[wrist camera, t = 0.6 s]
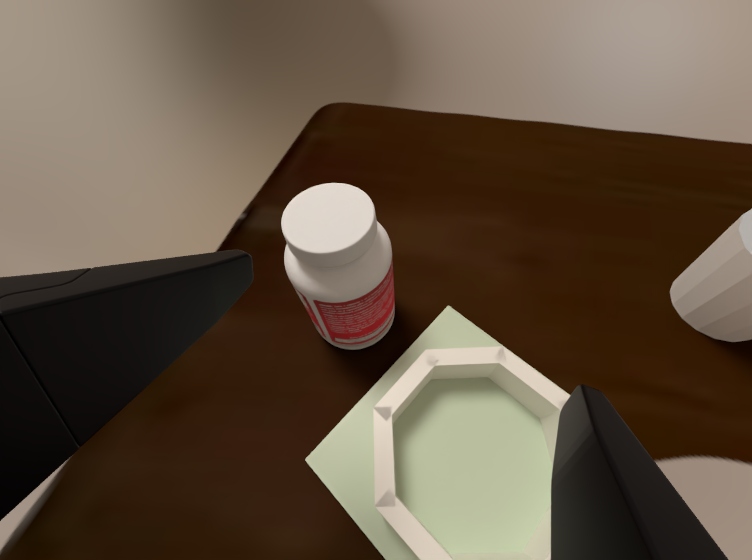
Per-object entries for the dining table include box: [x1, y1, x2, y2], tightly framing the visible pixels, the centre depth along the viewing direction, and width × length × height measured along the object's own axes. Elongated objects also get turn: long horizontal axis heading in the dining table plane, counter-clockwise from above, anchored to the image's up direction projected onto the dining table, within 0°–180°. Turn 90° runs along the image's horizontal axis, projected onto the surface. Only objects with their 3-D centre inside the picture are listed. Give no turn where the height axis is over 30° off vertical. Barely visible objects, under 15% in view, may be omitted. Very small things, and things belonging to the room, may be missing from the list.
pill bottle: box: [281, 183, 395, 350], centre depth 21 cm, size 6×6×11 cm
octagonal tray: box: [305, 306, 570, 560], centre depth 19 cm, size 14×14×4 cm
